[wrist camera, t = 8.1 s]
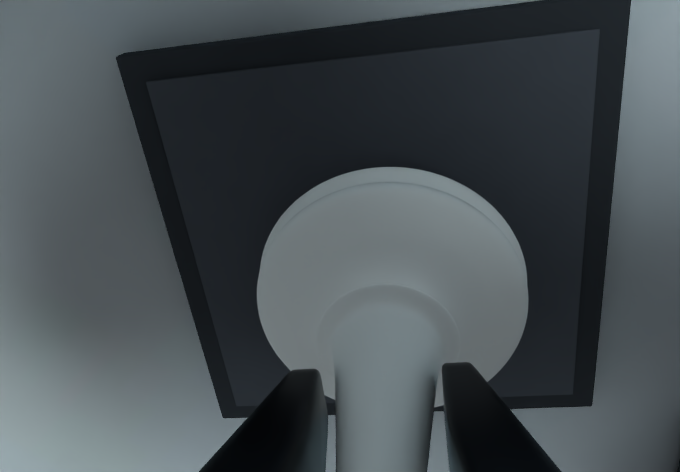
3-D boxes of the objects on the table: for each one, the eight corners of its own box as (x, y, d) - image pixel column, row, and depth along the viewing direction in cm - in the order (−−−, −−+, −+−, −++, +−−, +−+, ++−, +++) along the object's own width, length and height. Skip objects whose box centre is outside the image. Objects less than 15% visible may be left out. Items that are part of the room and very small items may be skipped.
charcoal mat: (587, 395, 14) (594, 410, 13) (226, 407, 15) (221, 422, 14) (624, -11, 10) (635, -8, 9) (123, 52, 11) (111, 57, 10)
